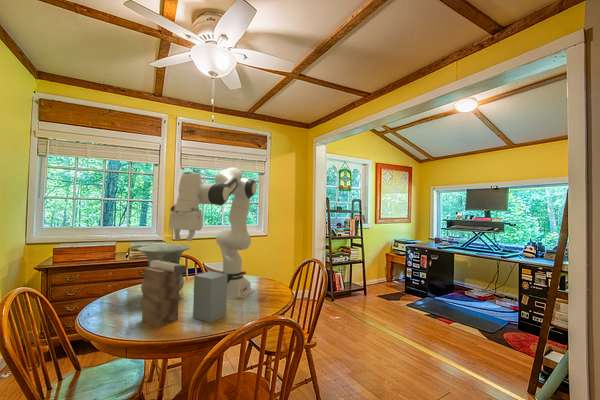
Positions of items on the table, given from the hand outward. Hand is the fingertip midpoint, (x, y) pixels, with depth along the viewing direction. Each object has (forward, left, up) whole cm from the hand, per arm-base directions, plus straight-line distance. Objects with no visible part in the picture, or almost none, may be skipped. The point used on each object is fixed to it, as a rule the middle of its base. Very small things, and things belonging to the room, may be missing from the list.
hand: (183, 240), depth 115 cm
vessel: (-21, -43, -39) cm, 62 cm away
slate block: (-20, -4, -39) cm, 44 cm away
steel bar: (-4, -15, -15) cm, 22 cm away
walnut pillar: (-4, -19, -39) cm, 44 cm away
